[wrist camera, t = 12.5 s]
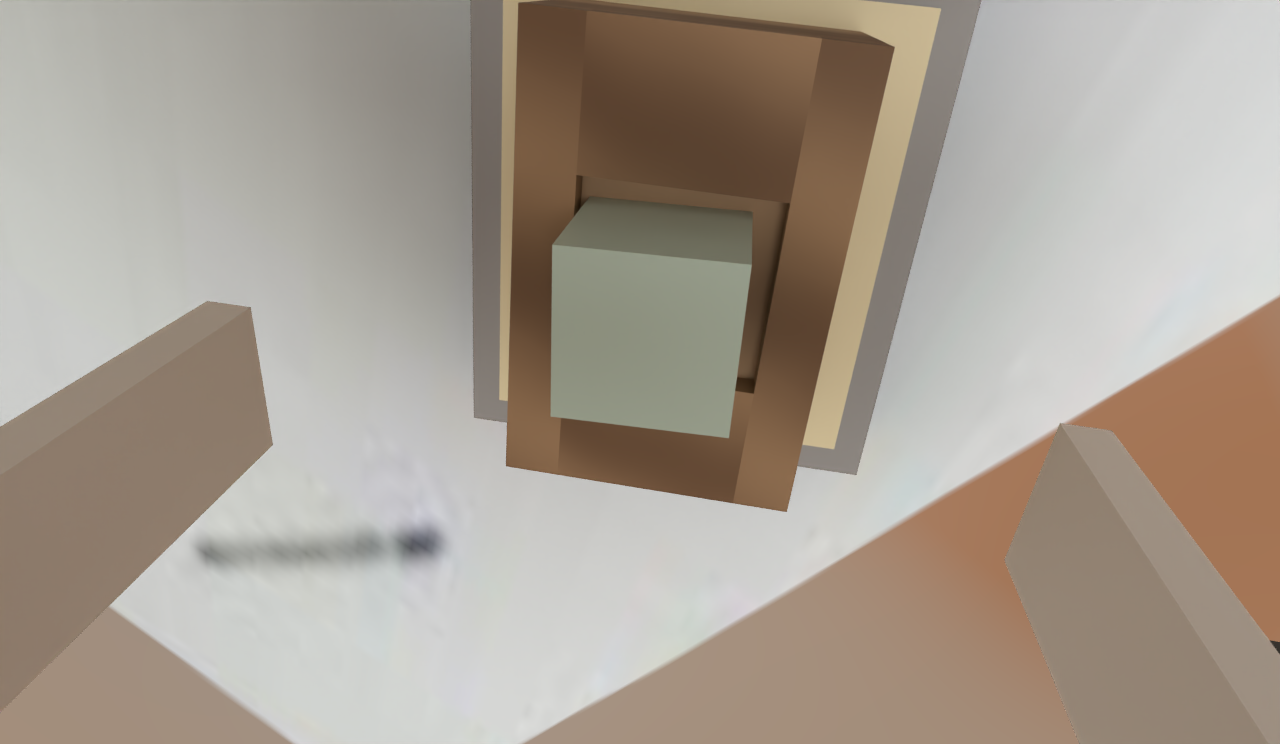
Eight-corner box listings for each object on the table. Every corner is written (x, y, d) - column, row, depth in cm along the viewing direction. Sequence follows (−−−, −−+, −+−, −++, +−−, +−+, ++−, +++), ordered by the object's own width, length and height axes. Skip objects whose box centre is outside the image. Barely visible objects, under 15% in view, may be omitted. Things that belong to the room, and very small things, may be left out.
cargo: (590, 196, 19) (551, 244, 16) (752, 211, 19) (751, 264, 15) (585, 343, 21) (550, 416, 17) (733, 359, 21) (728, 438, 17)
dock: (501, -75, 24) (467, -82, 21) (962, -29, 23) (990, -30, 20) (497, 380, 31) (472, 419, 29) (847, 431, 30) (856, 477, 28)
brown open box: (574, -2, 22) (517, 2, 17) (861, 31, 21) (895, 47, 16) (553, 375, 27) (505, 466, 22) (780, 410, 27) (786, 511, 22)
